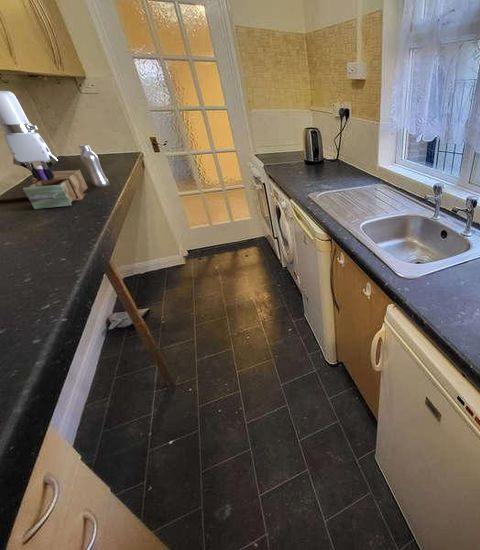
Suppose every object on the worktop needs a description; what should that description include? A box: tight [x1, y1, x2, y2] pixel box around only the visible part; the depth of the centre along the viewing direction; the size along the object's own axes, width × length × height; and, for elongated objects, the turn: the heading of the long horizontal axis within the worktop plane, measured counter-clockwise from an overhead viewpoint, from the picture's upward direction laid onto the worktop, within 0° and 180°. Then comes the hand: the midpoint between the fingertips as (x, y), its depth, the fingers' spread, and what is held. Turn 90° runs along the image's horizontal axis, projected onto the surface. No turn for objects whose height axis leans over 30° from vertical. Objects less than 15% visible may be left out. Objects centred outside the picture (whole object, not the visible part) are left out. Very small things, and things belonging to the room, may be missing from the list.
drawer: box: [22, 179, 77, 210], centre depth 121 cm, size 18×11×8 cm, turn 27°
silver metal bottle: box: [78, 144, 110, 188], centre depth 142 cm, size 6×7×20 cm
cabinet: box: [30, 169, 89, 201], centre depth 132 cm, size 15×13×10 cm
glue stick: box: [33, 164, 49, 181], centre depth 118 cm, size 3×3×6 cm
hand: (45, 179), depth 119 cm, fingers closed on glue stick, 2 cm apart
